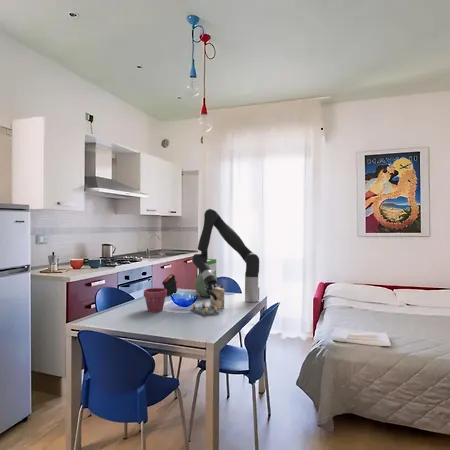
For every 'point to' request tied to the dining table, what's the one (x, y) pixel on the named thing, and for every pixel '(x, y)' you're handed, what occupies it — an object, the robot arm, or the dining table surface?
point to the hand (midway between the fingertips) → (219, 299)
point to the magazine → (170, 285)
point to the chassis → (204, 310)
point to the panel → (218, 298)
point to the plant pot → (155, 299)
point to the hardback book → (211, 264)
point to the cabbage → (202, 284)
